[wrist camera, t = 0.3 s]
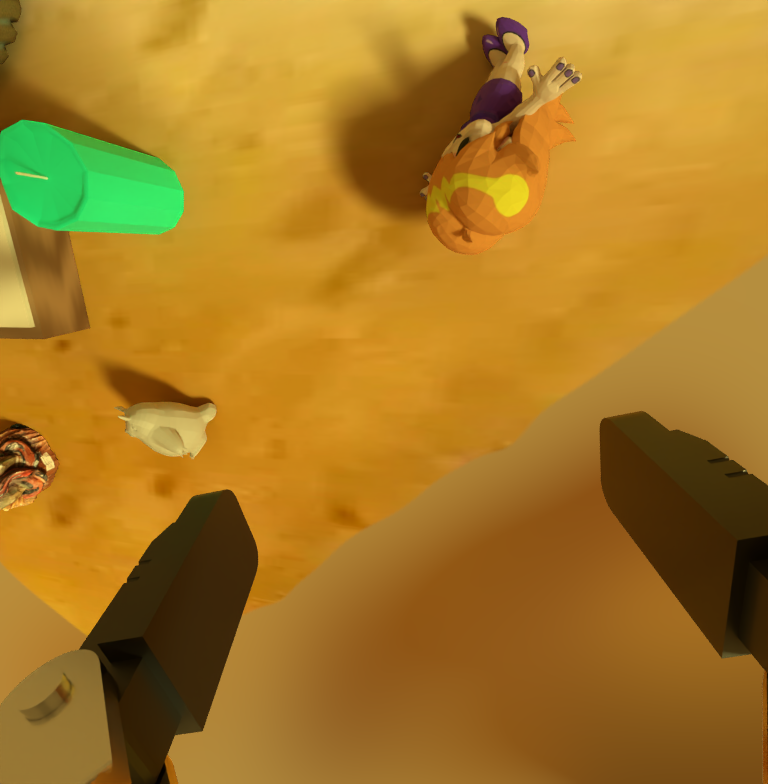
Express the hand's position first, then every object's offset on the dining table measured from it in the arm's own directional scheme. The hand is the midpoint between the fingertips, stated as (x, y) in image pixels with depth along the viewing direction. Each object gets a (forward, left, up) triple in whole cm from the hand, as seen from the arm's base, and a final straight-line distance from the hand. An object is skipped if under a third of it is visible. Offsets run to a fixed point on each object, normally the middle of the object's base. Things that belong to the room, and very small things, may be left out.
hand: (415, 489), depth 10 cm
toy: (-11, +4, -28) cm, 31 cm away
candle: (-9, -23, -28) cm, 38 cm away
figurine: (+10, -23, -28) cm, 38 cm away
